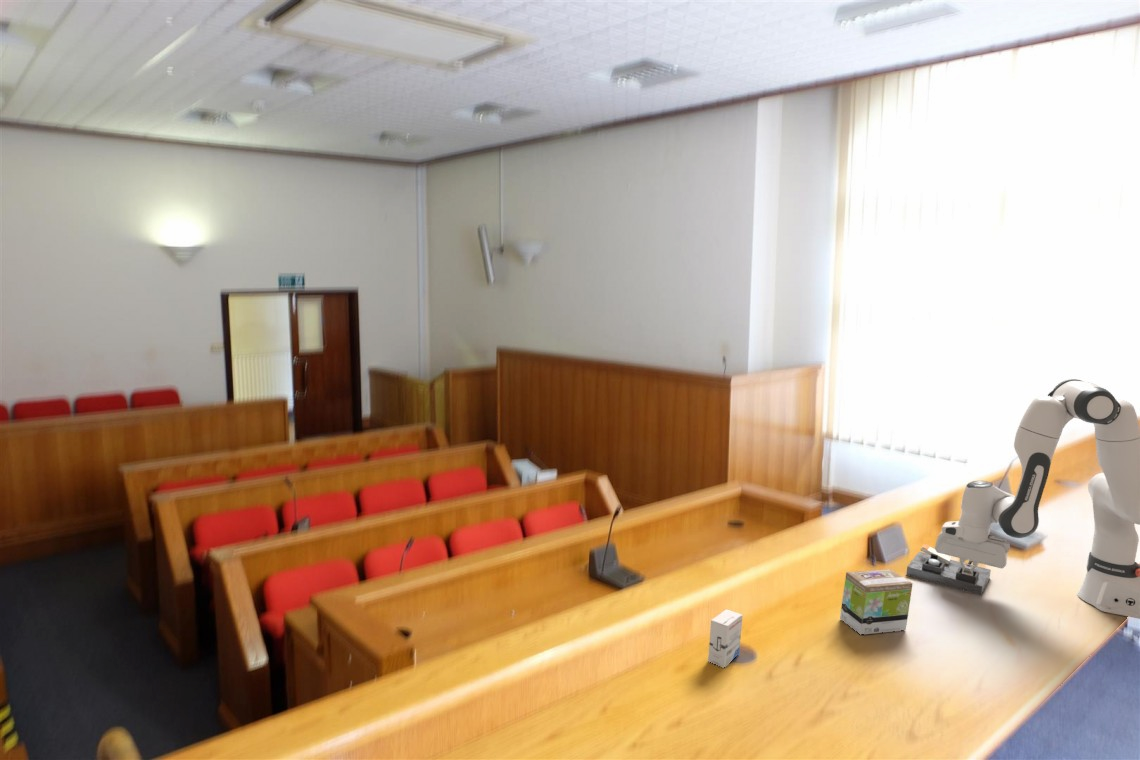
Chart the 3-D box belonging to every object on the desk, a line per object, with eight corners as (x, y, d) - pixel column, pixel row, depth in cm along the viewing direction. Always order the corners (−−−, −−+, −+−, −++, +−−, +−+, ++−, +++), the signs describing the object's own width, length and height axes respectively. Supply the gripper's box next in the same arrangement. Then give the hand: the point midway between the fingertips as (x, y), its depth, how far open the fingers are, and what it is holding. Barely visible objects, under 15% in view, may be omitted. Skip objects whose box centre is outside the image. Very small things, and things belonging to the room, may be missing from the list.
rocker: (948, 563, 255) (951, 556, 254) (946, 566, 252) (949, 560, 251) (921, 549, 259) (924, 543, 259) (919, 553, 256) (922, 546, 256)
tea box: (861, 637, 209) (866, 586, 207) (839, 619, 219) (844, 571, 216) (907, 631, 213) (913, 582, 211) (883, 614, 223) (889, 566, 220)
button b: (940, 564, 249) (940, 560, 248) (937, 567, 246) (938, 563, 246) (929, 561, 250) (929, 558, 250) (927, 564, 248) (927, 561, 248)
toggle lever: (969, 566, 250) (977, 554, 248) (969, 567, 249) (977, 555, 247) (966, 564, 250) (974, 552, 248) (965, 565, 249) (973, 553, 248)
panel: (989, 578, 250) (991, 561, 249) (981, 595, 237) (983, 578, 236) (917, 559, 263) (919, 543, 262) (906, 575, 250) (908, 558, 249)
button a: (973, 576, 243) (974, 572, 243) (971, 579, 240) (972, 575, 240) (962, 573, 245) (963, 569, 245) (960, 576, 242) (961, 573, 242)
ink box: (722, 648, 201) (726, 607, 199) (740, 655, 198) (743, 613, 196) (706, 662, 194) (709, 619, 192) (724, 669, 191) (727, 626, 189)
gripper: (1012, 537, 236) (1006, 578, 239) (940, 520, 248) (935, 560, 251) (1009, 543, 231) (1003, 585, 234) (936, 526, 243) (931, 567, 246)
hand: (967, 572), depth 242 cm, fingers closed, pressing on button a
